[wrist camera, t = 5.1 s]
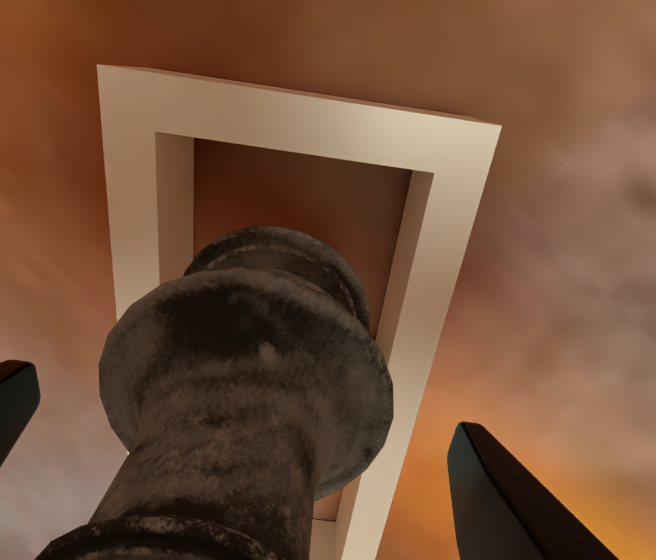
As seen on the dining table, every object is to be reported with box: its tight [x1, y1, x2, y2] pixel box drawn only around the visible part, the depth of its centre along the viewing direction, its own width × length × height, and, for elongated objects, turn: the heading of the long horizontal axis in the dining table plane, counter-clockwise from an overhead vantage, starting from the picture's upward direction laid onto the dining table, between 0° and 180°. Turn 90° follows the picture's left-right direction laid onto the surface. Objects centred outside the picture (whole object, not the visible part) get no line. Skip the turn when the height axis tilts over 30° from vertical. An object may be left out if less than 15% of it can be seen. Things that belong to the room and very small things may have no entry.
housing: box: [97, 64, 502, 560], centre depth 18 cm, size 23×11×4 cm, turn 172°
